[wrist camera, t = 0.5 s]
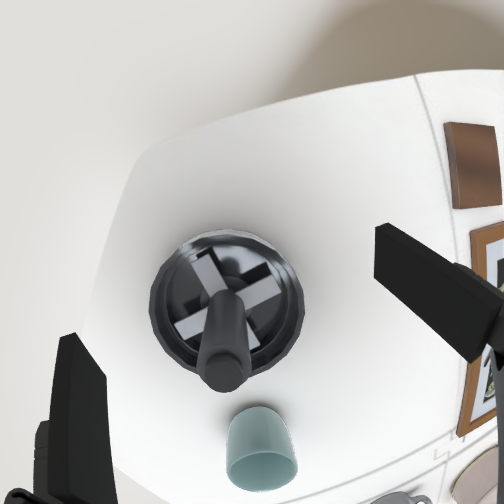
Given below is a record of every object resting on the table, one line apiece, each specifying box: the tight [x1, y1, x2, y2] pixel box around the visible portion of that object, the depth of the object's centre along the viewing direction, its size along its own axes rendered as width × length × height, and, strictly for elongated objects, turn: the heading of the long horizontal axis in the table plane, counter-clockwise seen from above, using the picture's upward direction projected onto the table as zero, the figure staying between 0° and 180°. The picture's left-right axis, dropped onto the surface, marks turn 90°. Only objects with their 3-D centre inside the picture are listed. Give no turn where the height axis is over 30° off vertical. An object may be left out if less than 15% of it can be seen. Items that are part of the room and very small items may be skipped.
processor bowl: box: [149, 229, 305, 378], centre depth 33 cm, size 15×15×6 cm
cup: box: [226, 406, 298, 492], centre depth 34 cm, size 8×8×10 cm
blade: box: [174, 253, 281, 393], centre depth 27 cm, size 11×11×16 cm
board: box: [444, 122, 502, 209], centre depth 34 cm, size 11×9×2 cm
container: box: [452, 447, 498, 504], centre depth 41 cm, size 18×18×12 cm
